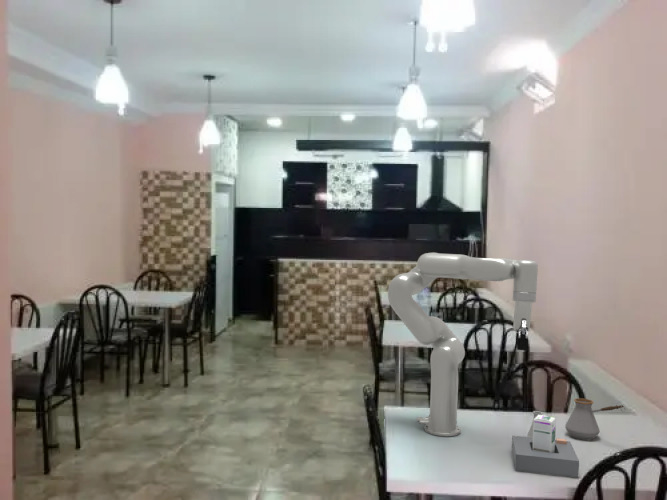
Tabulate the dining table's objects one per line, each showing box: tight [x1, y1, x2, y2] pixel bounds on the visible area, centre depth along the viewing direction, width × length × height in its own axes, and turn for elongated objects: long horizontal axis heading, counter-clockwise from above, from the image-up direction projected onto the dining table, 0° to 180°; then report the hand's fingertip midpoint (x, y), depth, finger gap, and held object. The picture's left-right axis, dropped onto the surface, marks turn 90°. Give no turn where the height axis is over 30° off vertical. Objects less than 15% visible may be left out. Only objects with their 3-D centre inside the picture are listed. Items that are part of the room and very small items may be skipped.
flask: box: [525, 410, 544, 438], centre depth 222 cm, size 7×7×10 cm
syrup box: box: [532, 414, 557, 453], centre depth 200 cm, size 6×6×14 cm
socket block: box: [511, 435, 580, 479], centre depth 200 cm, size 18×18×6 cm
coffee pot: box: [565, 397, 626, 441], centre depth 224 cm, size 21×12×15 cm, turn 32°
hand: (521, 347), depth 217 cm, fingers open, 9 cm apart
